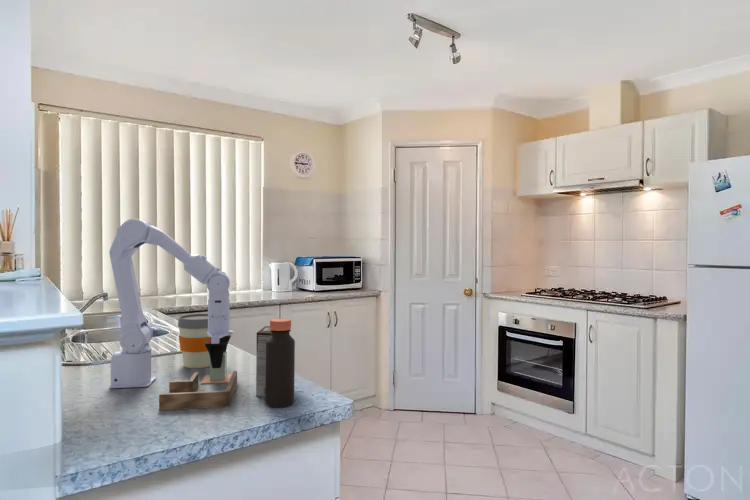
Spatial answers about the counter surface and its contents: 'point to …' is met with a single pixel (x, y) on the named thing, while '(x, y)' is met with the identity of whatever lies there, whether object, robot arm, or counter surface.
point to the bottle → (280, 365)
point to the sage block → (219, 370)
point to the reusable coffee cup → (194, 340)
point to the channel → (196, 395)
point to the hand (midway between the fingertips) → (218, 364)
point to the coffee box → (261, 360)
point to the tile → (207, 380)
